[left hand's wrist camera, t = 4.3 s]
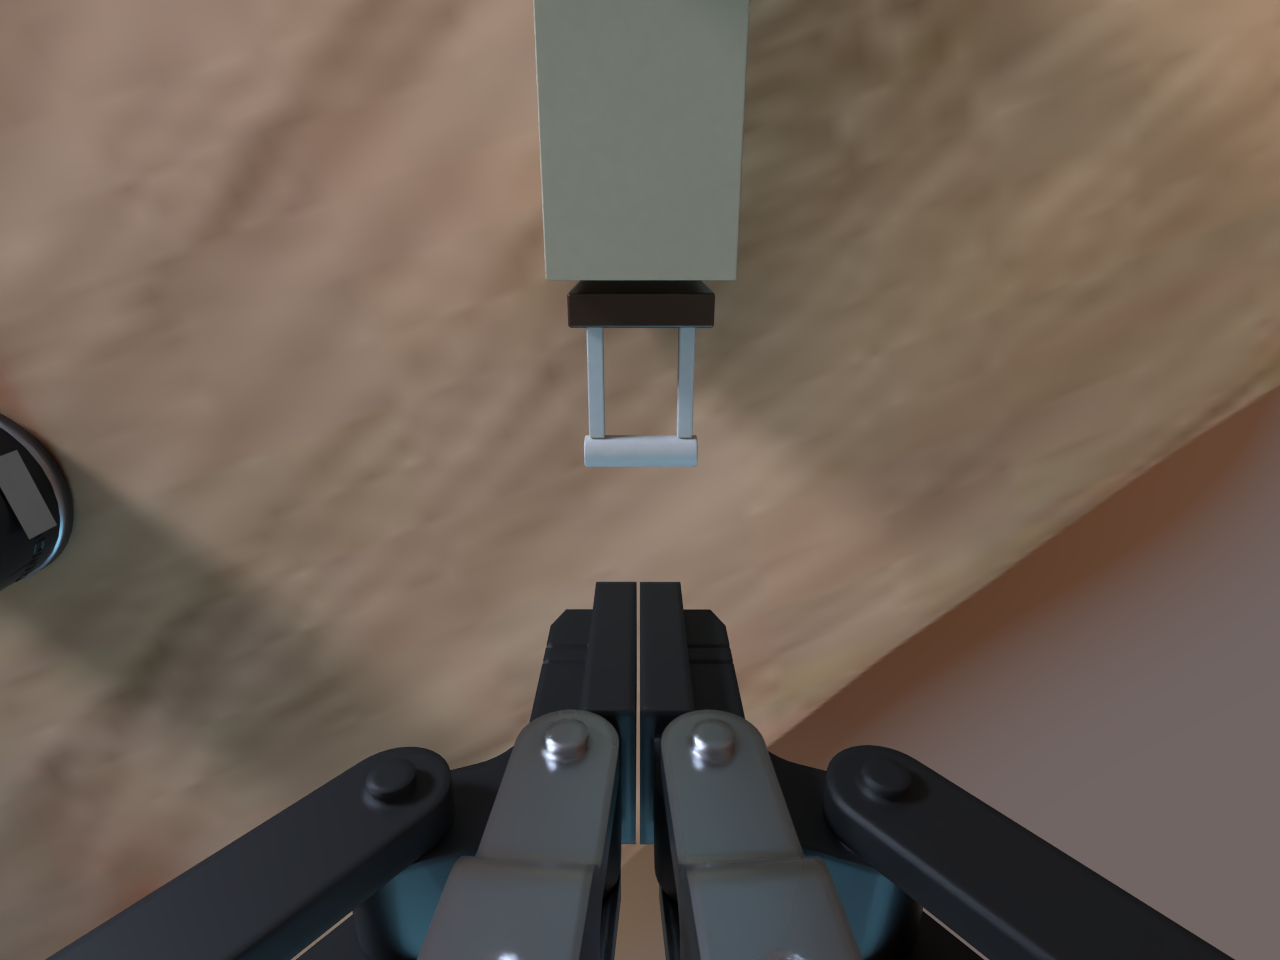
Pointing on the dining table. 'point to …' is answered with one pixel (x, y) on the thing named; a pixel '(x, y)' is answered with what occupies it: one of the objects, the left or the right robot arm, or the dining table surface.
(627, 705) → the left robot arm
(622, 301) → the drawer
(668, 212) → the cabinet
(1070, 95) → the dining table surface
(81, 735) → the dining table surface
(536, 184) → the dining table surface
